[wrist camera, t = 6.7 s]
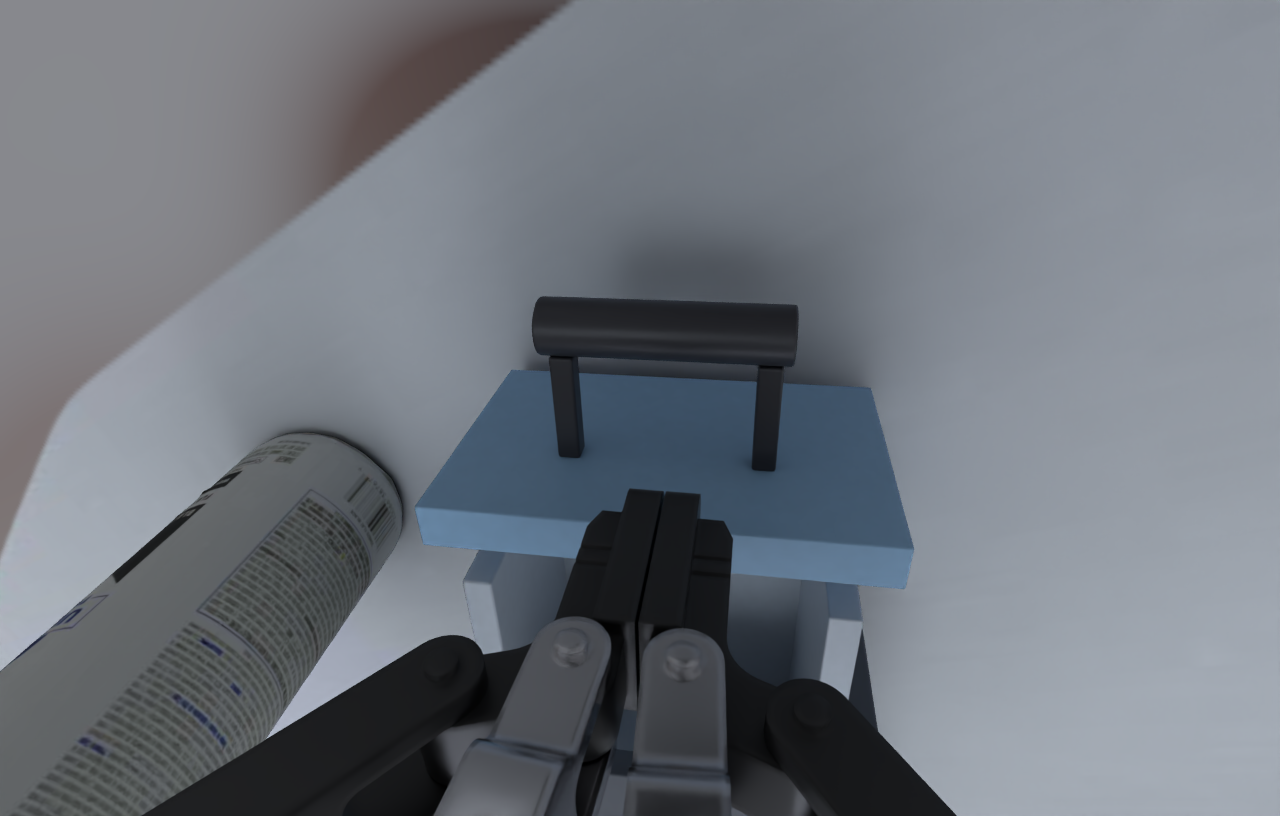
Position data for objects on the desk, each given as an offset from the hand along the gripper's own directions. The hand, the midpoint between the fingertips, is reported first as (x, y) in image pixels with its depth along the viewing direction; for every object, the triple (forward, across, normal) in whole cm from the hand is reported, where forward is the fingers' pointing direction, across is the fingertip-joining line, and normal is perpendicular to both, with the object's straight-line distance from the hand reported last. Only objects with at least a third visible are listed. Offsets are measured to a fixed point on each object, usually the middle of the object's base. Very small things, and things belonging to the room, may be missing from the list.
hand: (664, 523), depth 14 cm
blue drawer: (+8, 0, +5) cm, 10 cm away
